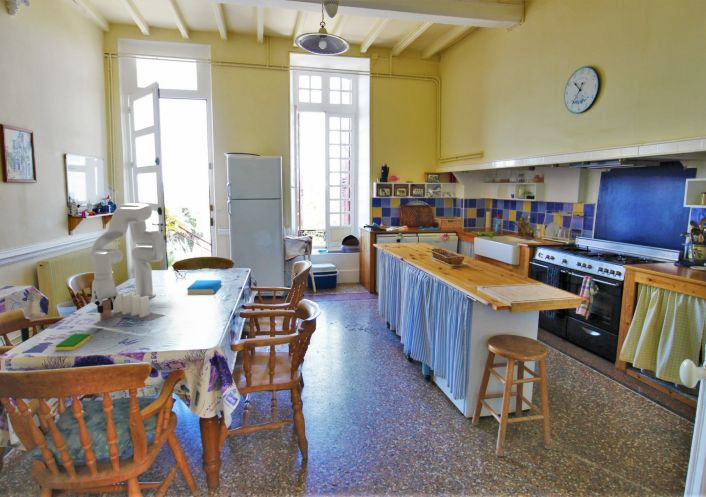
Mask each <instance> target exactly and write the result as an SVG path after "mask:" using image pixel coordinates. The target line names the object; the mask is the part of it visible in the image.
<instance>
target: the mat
mask: <svg viewBox="0 0 706 497" xmlns="http://www.w3.org/2000/svg"><path fill="white" fill-rule="evenodd" d="M111 312H112V316H116V317H117V316H118V317H122V318H129V319H134V320H140V321H146V322H151V321H154V320H157V319H160V318H162V317H166V314H162V313H154V312H150V315H147V316H145V317H139V314H137V315H134V316H131V313H128V314H122V311H121V312H118V313H114V310H112V311H111Z"/></svg>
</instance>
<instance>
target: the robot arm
mask: <svg viewBox="0 0 706 497" xmlns="http://www.w3.org/2000/svg"><path fill="white" fill-rule="evenodd" d="M152 213H153V210H152V207H151V206H150V205H149V204H147V203H121V204H119V205H118V208H116V209H115V210H114V212H113V214H112V218H111V220H110V223H109V227H108V230H107V231H105V232H104V233H102V234H101V235H100V236H99V237H97V239H96V240H95V241H94V243H93V246H92V249H91V252H90V259H91V261H92V262H93V273H94V276H93V277H94V279H92V285H91V298H90V300H89V301H90V303H91V302H92V303H93V304H95V306H96V310H97V313H99V314H100V313H103V305H102V301H103V300H106V299H111V311H114V304H113V302H114V300H115V298H116V297H117V295H118V293H119V292H117V291H116V290H117V289H116V283H115V280H114V277H113V275H114V272H113V271H112V265H117V264H119V263H120V262H122V260H123V259H124V253H123V251H121V250H120V249H116V248H105V247H106V246H107V245H108V244H110V243H113V242H115V241H117V240H120V239H123V238H124V237H126V235H127V232H128V228H130V235H131V240H132V242H133V243H134V244H135V245H137V246H134V247H132V250H131V258H132V262H133V269H134V270H133V271H134V286H135V287H134V288H133V289H132V290H131V293H134V294H133V295H132V296H135V295H140V298H141V297H144V296H149V299H150V298H153V297H156V295H157V294H156V292H154V289H153V272H152V271H153V270H152V266H151V264H150V263H149V262H160V261H162V260H163V259H164V248H163V239H162V235H161V232H160V231H159V230H158V229H155V228H147V225H146V221H147V220H149V218H150V217H151V216H152Z"/></svg>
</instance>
